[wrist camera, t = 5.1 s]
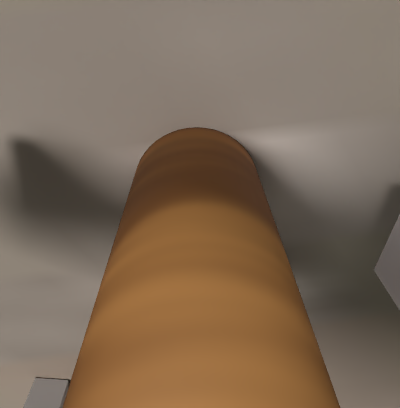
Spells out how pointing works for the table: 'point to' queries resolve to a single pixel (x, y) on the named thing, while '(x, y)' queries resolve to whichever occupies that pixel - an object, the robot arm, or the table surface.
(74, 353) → the table surface
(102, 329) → the tethered block
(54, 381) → the lane
